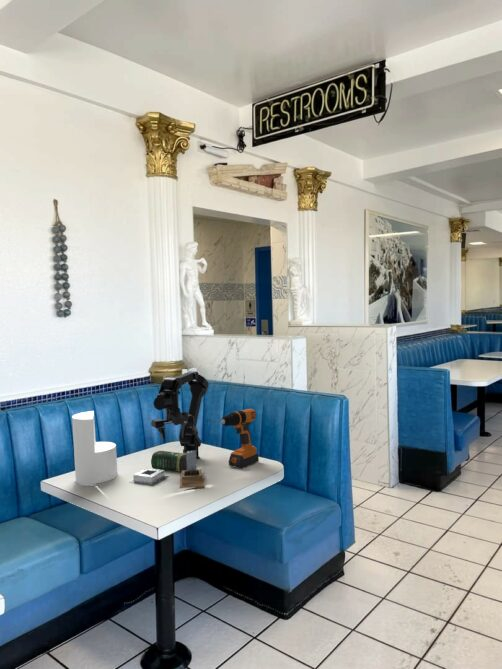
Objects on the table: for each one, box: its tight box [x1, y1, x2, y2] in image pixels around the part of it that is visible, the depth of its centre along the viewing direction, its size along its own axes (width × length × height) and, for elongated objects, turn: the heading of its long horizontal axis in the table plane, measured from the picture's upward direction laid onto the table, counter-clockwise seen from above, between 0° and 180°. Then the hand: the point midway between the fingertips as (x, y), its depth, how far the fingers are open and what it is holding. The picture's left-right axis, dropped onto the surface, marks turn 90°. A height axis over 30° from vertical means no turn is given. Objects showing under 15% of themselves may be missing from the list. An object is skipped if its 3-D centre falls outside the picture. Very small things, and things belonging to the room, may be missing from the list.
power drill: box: [220, 408, 260, 469], centre depth 232 cm, size 22×7×25 cm, turn 140°
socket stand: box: [128, 467, 170, 487], centre depth 216 cm, size 12×12×4 cm
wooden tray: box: [179, 468, 206, 491], centre depth 214 cm, size 16×10×4 cm, turn 7°
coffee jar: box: [150, 450, 187, 473], centre depth 230 cm, size 10×8×19 cm
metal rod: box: [186, 450, 197, 476], centre depth 213 cm, size 4×4×12 cm
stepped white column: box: [71, 410, 118, 487], centre depth 222 cm, size 17×17×28 cm
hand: (173, 439), depth 232 cm, fingers open, 9 cm apart
